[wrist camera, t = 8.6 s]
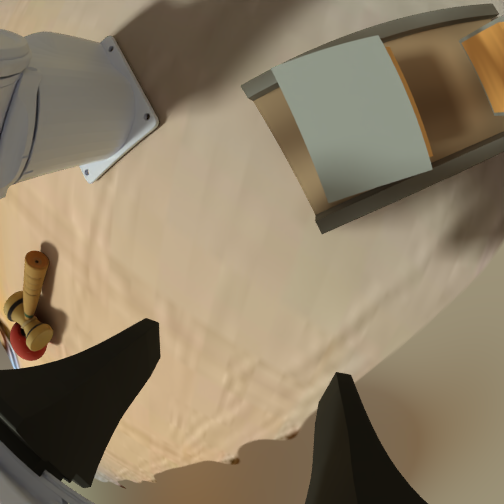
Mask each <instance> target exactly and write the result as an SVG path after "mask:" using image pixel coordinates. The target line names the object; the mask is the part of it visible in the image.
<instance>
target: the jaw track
mask: <svg viewBox="0 0 504 504" xmlns="http://www.w3.org/2000/svg"><path fill="white" fill-rule="evenodd" d="M498 14H499V13H498V12H497V10H496V9H495V7H494V6H493V4H480V5H470V6H461V7H454V8H447V9H441V10H436V11H430V12H426V13H421V14H416V15H412V16H408V17H404V18H400V19H396V20H393V21H389V22H386V23H382V24H379V25H376V26H373V27H370V28H366V29H363V30H361V31H358V32H355V33H352V34H349V35H347V36H344V37H341V38H339V39H336V40H334V41H331V42H329V43H326V44H324V45H321V46H319V47H317V48H314V49H312V50H310V51H307V52H305V53H303V54H301V55H299V56H297V57H294V58H292V59H290V60H288V61H291V60H294V59H296V58H299V57H302V56H305V55H308V54H311V53H314V52H317V51H320V50H323V49H326V48H330V47H333V46H337V45H340V44H344V43H347V42H351V41H355V40H359V39H363V38H368V37H372V36H377V35H378V36H379V37H380V39H381V41H382V43H383V45H384V46H385V47H390V49H391V51H392V52H393V54H394V56H395V58H396V60H397V62H398V64H399V67H400V69H401V71H402V73H403V75H404V77H405V79H406V82H407V84H408V86H409V89H410V91H411V93H412V96H413V98H414V101H415V103H416V106H417V108H418V111H419V114H420V116H421V119H422V122H423V125H424V128H425V131H426V134H427V137H428V140H429V143H430V146H431V150H432V153H433V156H432V157H429V158H430V162H431V165H432V169H433V170H430V171H427V172H424V173H420V174H417V175H414V176H411V177H408V178H404V179H401V180H398V181H395V182H392V183H389V184H386V185H383V186H380V187H376V188H373V189H370V190H367V191H364V192H361V193H358V194H355V195H352V196H349V197H346V198H343V199H340V200H337V201H334V202H331V203H328V200H327V198H326V195H325V192H324V190H323V187H322V184H321V182H320V179H319V176H318V174H317V171H316V169H315V166H314V164H313V161H312V159H311V156H310V154H309V151H308V149H307V146H306V144H305V142H304V139H303V137H302V134H301V132H300V130H299V128H298V125H297V123H296V121H295V118H294V116H293V114H292V112H291V110H290V107H289V105H288V103H287V101H286V99H285V97H284V95H283V92H282V90H281V88H280V86H279V84H278V82H277V80H276V78H275V76H274V74H273V72H272V70H271V69H270V70H268V71H266V72H265V73H263V74H261V75H259V76H257V77H255V78H254V79H252V80H250V81H248V82H246V83H245V84H243V85H241V87H242V89H243V91H244V92H245V94H246V96H247V97H248V98H249V99H250V100H252V101H253V102H254V103H255V105H256V107H257V108H258V110H259V112H260V113H261V115H262V117H263V118H264V120H265V122H266V123H267V125H268V127H269V129H270V130H271V132H272V134H273V136H274V137H275V139H276V141H277V143H278V144H279V146H280V148H281V150H282V152H283V153H284V155H285V157H286V159H287V161H288V162H289V164H290V166H291V168H292V170H293V172H294V174H295V176H296V177H297V179H298V181H299V183H300V185H301V187H302V189H303V191H304V193H305V195H306V197H307V199H308V201H309V203H310V205H311V207H312V209H313V211H314V213H315V215H316V219H315V221H316V223H317V225H318V227H319V229H320V231H321V233H322V234H324V233H326V232H328V231H330V230H333V229H335V228H337V227H339V226H342V225H344V224H346V223H349V222H351V221H353V220H355V219H358V218H360V217H362V216H364V215H367V214H369V213H371V212H373V211H376V210H378V209H380V208H382V207H384V206H387V205H389V204H391V203H393V202H396V201H398V200H400V199H402V198H404V197H407V196H409V195H411V194H413V193H416V192H418V191H420V190H422V189H424V188H427V187H429V186H431V185H433V184H435V183H437V182H440V181H442V180H444V179H446V178H448V177H451V176H453V175H455V174H457V173H459V172H461V171H464V170H466V169H468V168H470V167H472V166H474V165H476V164H479V163H481V162H483V161H485V160H487V159H489V158H491V157H494V156H496V155H498V154H500V153H502V152H504V15H502V16H500V17H498V18H496V19H495V20H493V21H492V20H491V18H493V17H495V16H497V15H498ZM288 61H286V62H288ZM284 63H285V62H284ZM282 64H283V63H282Z"/></svg>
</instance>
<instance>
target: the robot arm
mask: <svg viewBox="0 0 504 504" xmlns="http://www.w3.org/2000/svg"><path fill="white" fill-rule="evenodd" d="M112 48H113V50H112ZM111 50H112V51H111ZM148 114H150V118H149V120H147V115H148ZM158 124H159V120H158V117H157V116H156V114H155V112H154V110H153V108H152V107H151V105H150V103H149V101H148V99H147V97H146V96H145V94H144V92H143V90H142V88H141V86H140V85H139V83H138V81H137V79H136V77H135V75H134V74H133V72H132V70H131V68H130V66H129V64H128V63H127V61H126V59H125V57H124V55H123V53H122V51H121V50H120V48H119V46H118V44H117V42H116V40H115V38H114V37H112V36H107V37H106V38H105V39H104V40H103V41H102V42H101V43H98V42H95V41H91V40H87V39H82V38H78V37H74V36H69V35H64V34H59V33H54V32H38V33H34V34H31V35H28V36H25V37H22V36H20V35H18V34H16V33H13V32H11V31H7V30H3V29H0V199H1V198H4V197H5V196H6V192H7V189H8V188H9V186H11V185H13V184H16V183H19V182H22V181H25V180H29V179H32V178H35V177H39V176H42V175H46V174H49V173H53V172H57V171H60V170H64V169H68V168H72V167H76V166H80V168H81V170H82V173H83V175H84V177H85V179H86V181H87V182H88V183H89V184H91V183H94V182H95V181H96V180H97V179H98V178H99V177H101V176H102V175H103V174H104V173H105V172H106V171H107V170H108V169H109V168H110V167H111V166H112V165H113V164H114V163H115V162H117V161H118V160H119V159H120V158H121V157H122V156H123V155H124V154H126V153H127V152H128V151H129V150H130V149H131V148H133V147H134V146H135V145H136V144H137V143H138V142H140V141H141V140H142V139H143V138H144V137H146V136H147V135H148V134H149V133H151V132H152V131H153V130H154V129H156V128H157V127H158ZM88 170H89V174H88ZM159 359H160V339H159V323H158V322H155V321H153V320H150V319H147V318H145V319H143V320H142V321H140V322H138V323H136V324H134V325H133V326H131V327H129V328H127V329H126V330H124V331H122V332H120V333H118V334H117V335H115V336H113V337H111V338H109V339H107V340H105V341H104V342H102V343H100V344H98V345H95V346H93V347H91V348H89V349H87V350H85V351H83V352H80V353H78V354H75V355H73V356H70V357H67V358H64V359H61V360H58V361H54V362H51V363H47V364H43V365H39V366H34V367H28V368H21V369H11V370H0V504H68V503H69V504H94V503H93V502H91V501H89V500H88V499H86V498H84V497H83V496H81V495H80V494H78V493H77V492H75V491H74V490H72V489H71V488H69V487H68V486H67V485H65V484H64V483H62V482H61V480H62V479H65V480H66V481H68V482H69V483H70V482H71V481H73V482H75V483H76V484H78V485H79V486H81V487H83V488H88V487H91V485H92V481H93V479H94V476H95V473H96V471H97V468H98V465H99V463H100V461H101V458H102V456H103V454H104V451H105V449H106V447H107V445H108V443H109V441H110V439H111V437H112V435H113V433H114V431H115V429H116V427H117V425H118V423H119V421H120V419H121V418H122V416H123V415H124V413H125V412H126V410H127V409H128V407H129V406H130V405H131V403H132V402H133V400H134V399H135V397H136V396H137V395H138V393H139V392H140V390H141V389H142V388H143V386H144V385H145V383H146V382H147V381H148V379H149V378H150V376H151V374H152V372H153V371H154V369H155V367H156V365H157V363H158V361H159ZM305 504H428V503H427V502H426V501H424V500H423V499H422V498H421V497H420V496H419V495H418V494H417V493H416V491H415V490H414V489H413V488H412V487H411V486H410V485H409V484H408V482H407V481H406V480H405V479H404V477H403V476H402V475H401V473H400V472H399V471H398V470H397V468H396V467H395V465H394V464H393V462H392V461H391V459H390V458H389V456H388V455H387V453H386V451H385V449H384V448H383V446H382V444H381V442H380V441H379V439H378V437H377V435H376V433H375V431H374V429H373V427H372V425H371V422H370V420H369V418H368V416H367V413H366V411H365V409H364V406H363V404H362V402H361V399H360V397H359V394H358V392H357V389H356V387H355V384H354V381H353V379H352V376H351V375H349V374H344V373H338V372H336V373H335V375H334V377H333V379H332V380H331V382H330V384H329V386H328V387H327V389H326V391H325V393H324V394H323V396H322V398H321V399H320V401H319V404H318V410H317V416H316V422H315V434H314V451H313V464H312V474H311V480H310V485H309V489H308V494H307V498H306V502H305Z"/></svg>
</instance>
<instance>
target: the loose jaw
mask: <svg viewBox="0 0 504 504" xmlns="http://www.w3.org/2000/svg"><path fill="white" fill-rule="evenodd" d="M271 70H272V72H273V74H274V76H275V78H276V80H277V82H278V84H279V86H280V88H281V90H282V92H283V95H284V97H285V99H286V101H287V103H288V105H289V107H290V110H291V112H292V114H293V116H294V118H295V121H296V123H297V125H298V128H299V130H300V132H301V134H302V137H303V139H304V142H305V144H306V146H307V149H308V151H309V154H310V156H311V159H312V161H313V164H314V166H315V169H316V171H317V174H318V176H319V179H320V182H321V184H322V187H323V190H324V192H325V195H326V198H327V200H328V203H331V202H334V201H337V200H340V199H343V198H346V197H349V196H352V195H355V194H358V193H361V192H364V191H367V190H370V189H373V188H376V187H380V186H383V185H386V184H389V183H392V182H395V181H398V180H401V179H404V178H408V177H411V176H414V175H417V174H420V173H424V172H427V171H430V170H433V169H432V165H431V162H430V158H429V157H432V156H433V153H432V150H431V146H430V143H429V140H428V137H427V134H426V131H425V128H424V125H423V122H422V119H421V116H420V114H419V111H418V108H417V106H416V103H415V101H414V98H413V96H412V93H411V91H410V89H409V86H408V84H407V82H406V79H405V77H404V75H403V73H402V71H401V69H400V67H399V64H398V62H397V60H396V58H395V56H394V54H393V52H392V51H391V49H390V47H385V46H384V45H383V43H382V41H381V39H380V37H379V36H378V35H377V36H372V37H368V38H363V39H359V40H355V41H351V42H347V43H344V44H340V45H337V46H333V47H330V48H326V49H323V50H320V51H317V52H314V53H311V54H308V55H305V56H302V57H299V58H296V59H294V60H291V61H288V62H285V63H283V64H280V65H278V66H275V67H273V68H271Z"/></svg>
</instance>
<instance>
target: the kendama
mask: <svg viewBox="0 0 504 504" xmlns="http://www.w3.org/2000/svg"><path fill="white" fill-rule="evenodd" d="M48 265H49V259H48V258H47V257H46V255H45V254H44V253H42V252H39V251H30V252H28V253H27V254H26V257H25V269H24V285H23V291H19V292H16V293H14V294H13V295H11V296H10V297H9V298H8V300H7V301H6V303H5V305H4V313H5V315H6V317H7V318H8V320H10V321H15V322H16V323H15V324H14V325H13V327H12V329H11V333H10V341H11V344H12V347H13V349H14V351H15V352H16V353H17V354H18V355H19V356H20V357H21V358H23V359H25V360H29V361H33V360H37V359H39V358H40V357H42V355H43V354H44V353H45V351H46V348H47V344H48V343H49V342H50V340H51V338H52V336H53V330H52V328H51V327H50V325H48V324H45V323H41V322H39V320H38V318H37V317H35V316H34V313H35V310H36V307H37V304H38V300H39V297H40V293H41V289H42V285H43V281H44V278H45V274H46V271H47V268H48Z"/></svg>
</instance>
